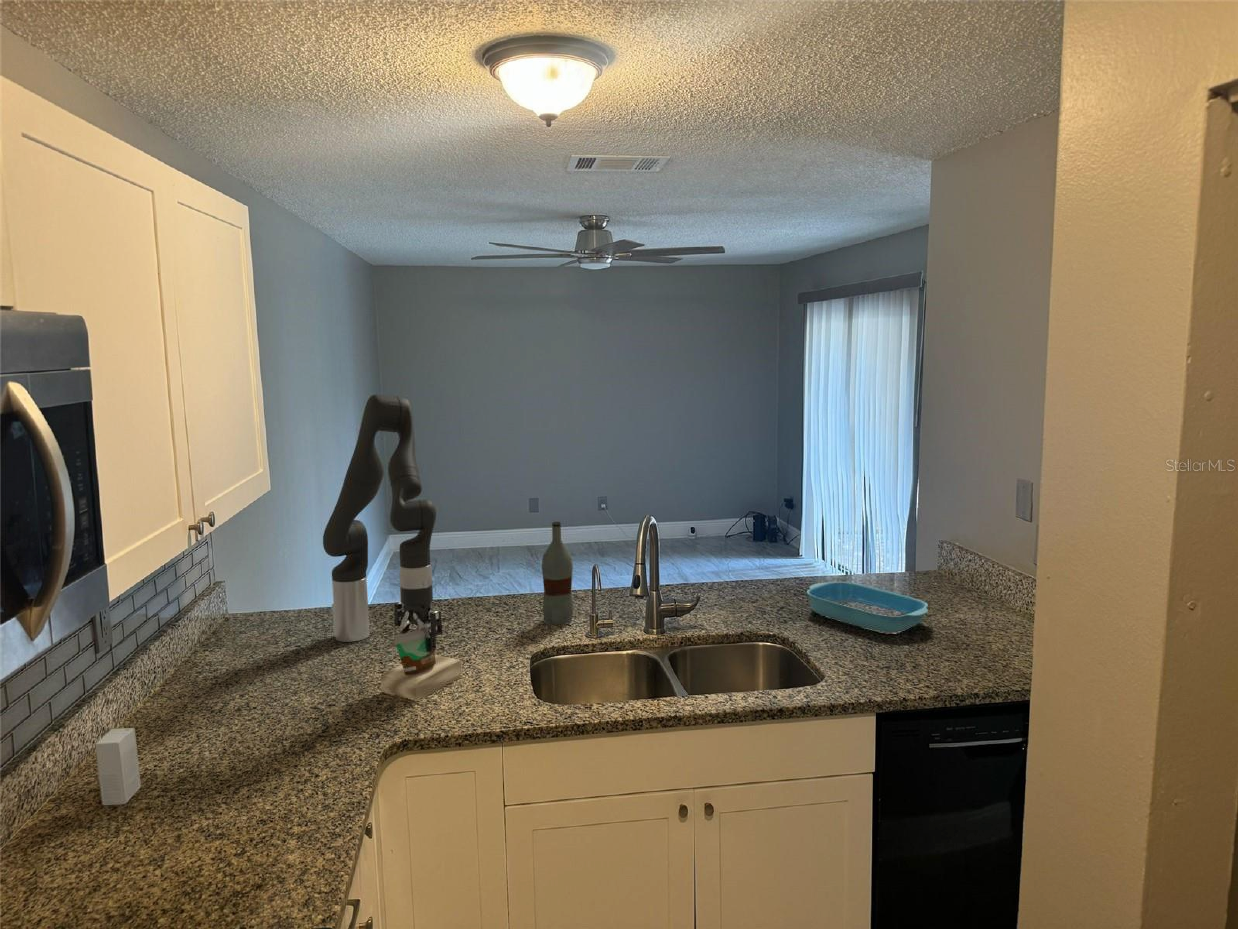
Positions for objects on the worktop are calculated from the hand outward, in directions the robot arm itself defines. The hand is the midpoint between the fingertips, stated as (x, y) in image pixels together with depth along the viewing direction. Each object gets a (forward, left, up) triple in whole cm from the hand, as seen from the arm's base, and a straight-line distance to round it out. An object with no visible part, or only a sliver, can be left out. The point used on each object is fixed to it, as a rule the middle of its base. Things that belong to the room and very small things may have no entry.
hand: (418, 648), depth 202 cm
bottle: (-2, +55, -9) cm, 56 cm away
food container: (+2, 0, -4) cm, 5 cm away
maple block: (0, 0, -10) cm, 10 cm away
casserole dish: (+73, +108, -10) cm, 131 cm away
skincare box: (-7, -66, -9) cm, 67 cm away
